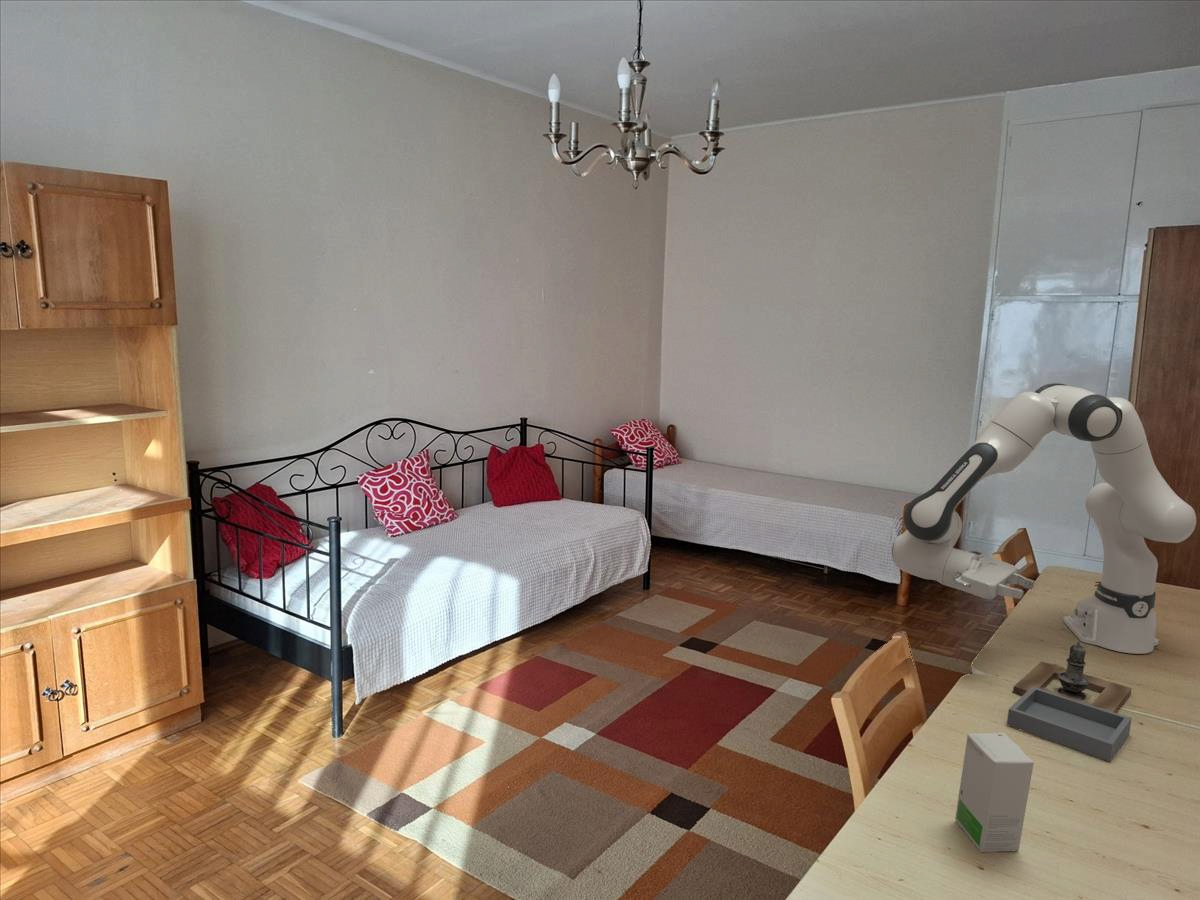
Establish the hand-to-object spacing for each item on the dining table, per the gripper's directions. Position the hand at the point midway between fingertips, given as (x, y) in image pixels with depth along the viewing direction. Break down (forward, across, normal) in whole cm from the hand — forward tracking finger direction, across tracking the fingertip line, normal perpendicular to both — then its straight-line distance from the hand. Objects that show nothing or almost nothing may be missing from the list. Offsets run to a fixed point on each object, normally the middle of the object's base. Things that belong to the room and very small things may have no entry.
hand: (1028, 590), depth 181 cm
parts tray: (+15, -17, +20) cm, 30 cm away
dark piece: (+12, +1, +20) cm, 24 cm away
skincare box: (+13, -62, +22) cm, 68 cm away
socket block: (+12, +1, +20) cm, 23 cm away
